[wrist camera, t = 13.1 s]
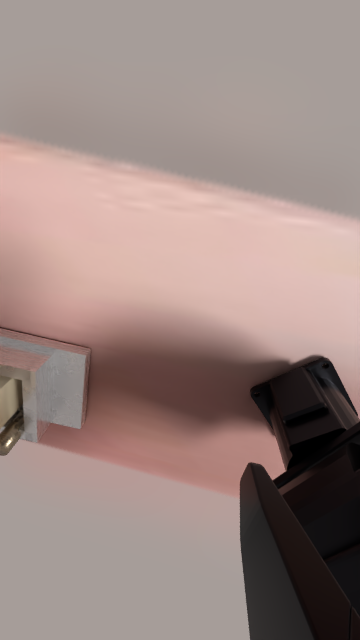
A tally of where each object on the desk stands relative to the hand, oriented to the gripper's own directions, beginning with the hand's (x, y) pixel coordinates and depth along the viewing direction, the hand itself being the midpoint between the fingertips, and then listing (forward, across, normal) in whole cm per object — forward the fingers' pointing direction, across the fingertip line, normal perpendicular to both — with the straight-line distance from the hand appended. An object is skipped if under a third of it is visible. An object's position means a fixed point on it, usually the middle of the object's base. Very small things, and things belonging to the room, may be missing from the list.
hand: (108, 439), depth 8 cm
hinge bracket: (+12, +12, +9) cm, 19 cm away
